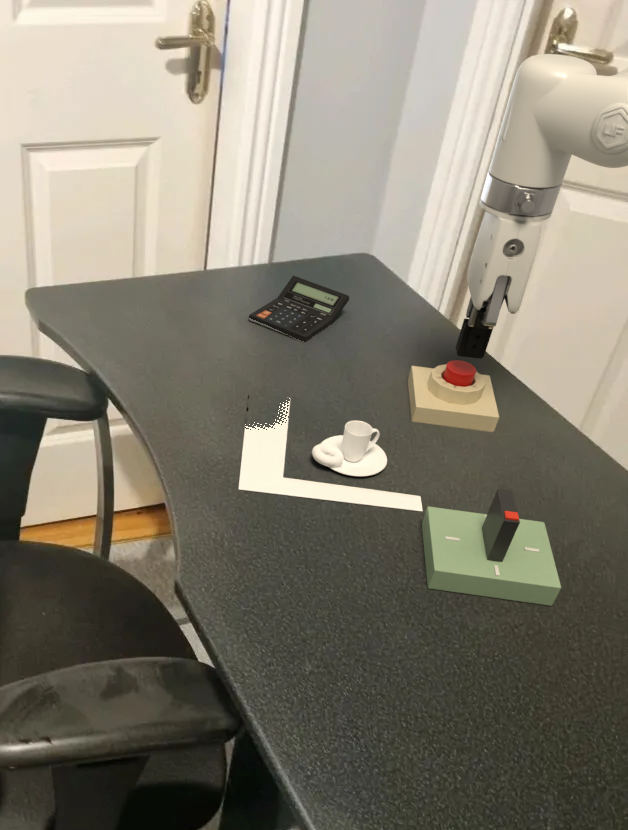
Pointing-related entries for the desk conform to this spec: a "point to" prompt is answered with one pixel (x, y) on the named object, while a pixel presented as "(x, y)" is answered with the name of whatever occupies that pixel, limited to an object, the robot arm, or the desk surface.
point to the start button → (459, 373)
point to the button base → (451, 400)
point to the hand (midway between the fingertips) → (469, 353)
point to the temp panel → (471, 571)
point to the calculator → (302, 309)
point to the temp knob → (500, 525)
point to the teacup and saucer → (337, 452)
